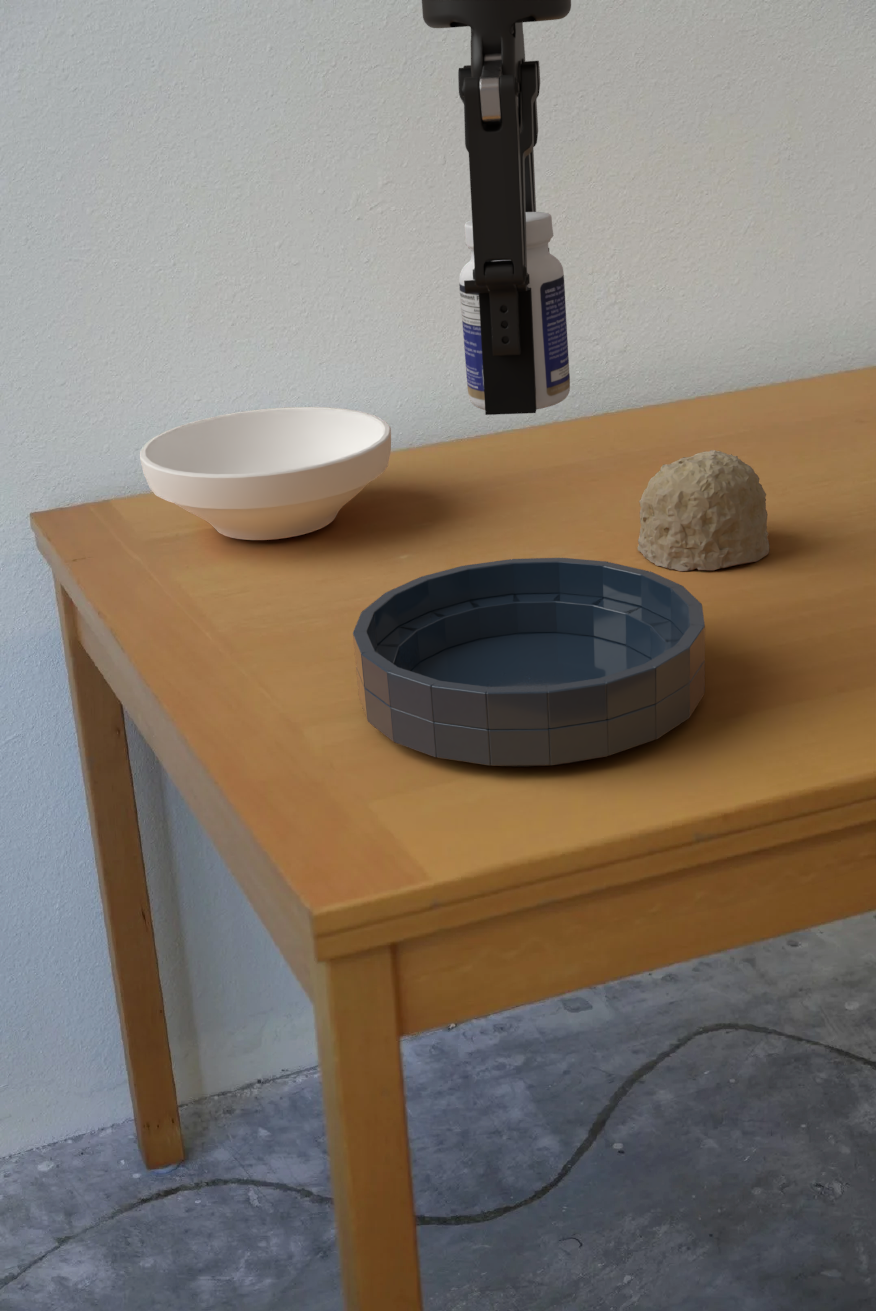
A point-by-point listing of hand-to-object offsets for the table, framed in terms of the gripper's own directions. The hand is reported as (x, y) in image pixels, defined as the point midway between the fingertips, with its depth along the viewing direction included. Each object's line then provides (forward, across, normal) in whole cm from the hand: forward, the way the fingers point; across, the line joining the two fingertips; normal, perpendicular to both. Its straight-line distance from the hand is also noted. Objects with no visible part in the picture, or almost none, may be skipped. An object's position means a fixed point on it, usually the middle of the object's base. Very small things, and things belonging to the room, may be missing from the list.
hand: (515, 396), depth 83 cm
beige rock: (+17, -20, +11) cm, 28 cm away
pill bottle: (0, 0, 0) cm, 0 cm away
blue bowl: (+17, +4, 0) cm, 17 cm away
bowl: (+17, -28, -22) cm, 39 cm away
